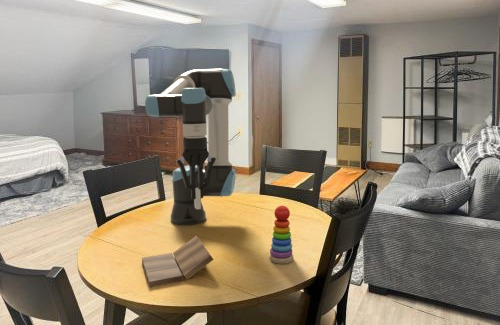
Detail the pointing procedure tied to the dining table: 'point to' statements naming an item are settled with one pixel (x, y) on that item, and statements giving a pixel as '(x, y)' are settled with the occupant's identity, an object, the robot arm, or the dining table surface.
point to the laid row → (161, 270)
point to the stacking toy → (281, 237)
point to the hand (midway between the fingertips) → (197, 208)
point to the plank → (192, 257)
